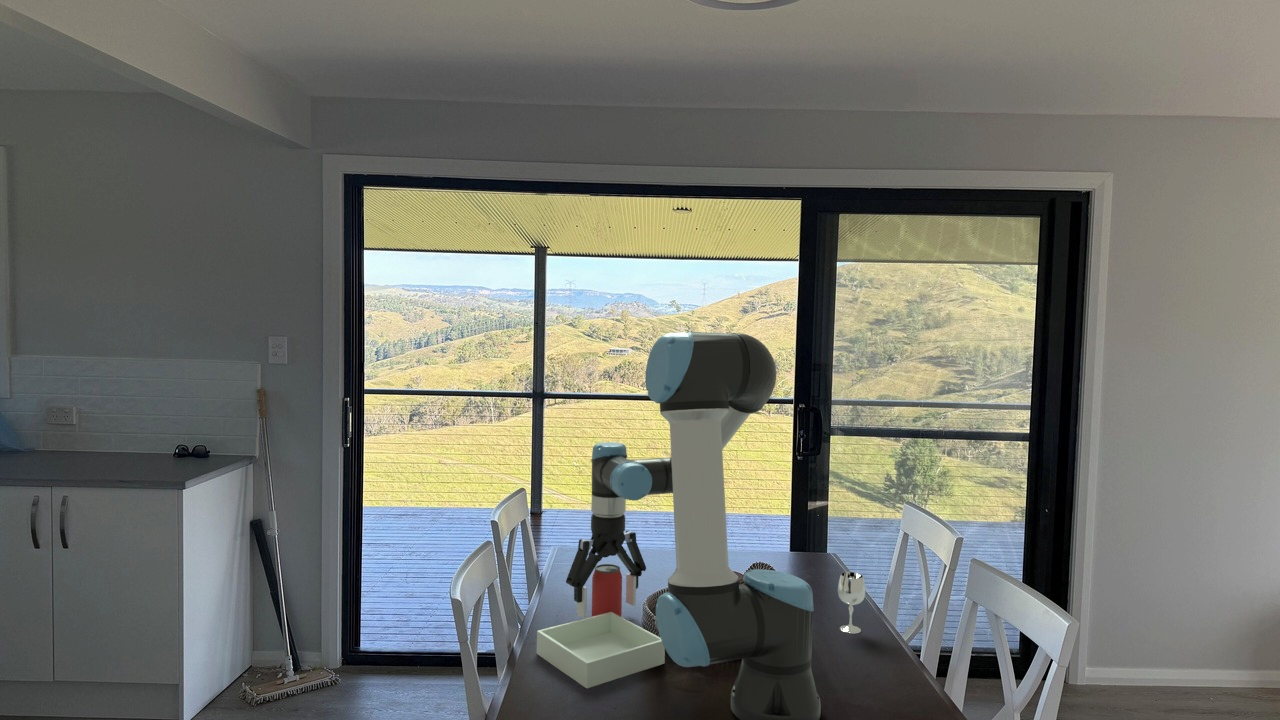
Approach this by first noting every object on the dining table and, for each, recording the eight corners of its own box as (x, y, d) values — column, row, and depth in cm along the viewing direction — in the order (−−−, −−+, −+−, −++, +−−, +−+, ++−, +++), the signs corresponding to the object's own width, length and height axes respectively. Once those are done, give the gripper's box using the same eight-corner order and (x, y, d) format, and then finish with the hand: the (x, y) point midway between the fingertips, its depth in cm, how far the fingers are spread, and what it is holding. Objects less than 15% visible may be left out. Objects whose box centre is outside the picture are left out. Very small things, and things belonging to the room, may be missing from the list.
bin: (664, 663, 149) (665, 640, 149) (586, 688, 138) (587, 663, 138) (611, 633, 164) (611, 611, 163) (536, 653, 153) (536, 630, 153)
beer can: (617, 628, 166) (618, 573, 166) (588, 625, 168) (588, 571, 167) (624, 617, 173) (625, 564, 172) (595, 614, 174) (596, 562, 174)
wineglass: (833, 631, 167) (835, 576, 166) (840, 622, 172) (841, 569, 171) (860, 636, 164) (862, 581, 164) (866, 627, 169) (868, 573, 169)
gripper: (642, 503, 180) (640, 593, 181) (550, 517, 165) (549, 616, 166) (662, 509, 174) (660, 603, 175) (569, 525, 159) (568, 627, 160)
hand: (606, 609), depth 170 cm, fingers open, 12 cm apart
